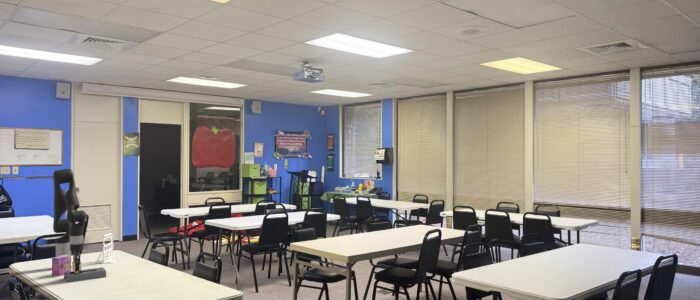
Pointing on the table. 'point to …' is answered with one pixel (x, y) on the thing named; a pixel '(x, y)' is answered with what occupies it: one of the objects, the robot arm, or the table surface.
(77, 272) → the brass peg
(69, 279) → the keyhole plate
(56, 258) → the box
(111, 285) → the table surface
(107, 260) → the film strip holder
